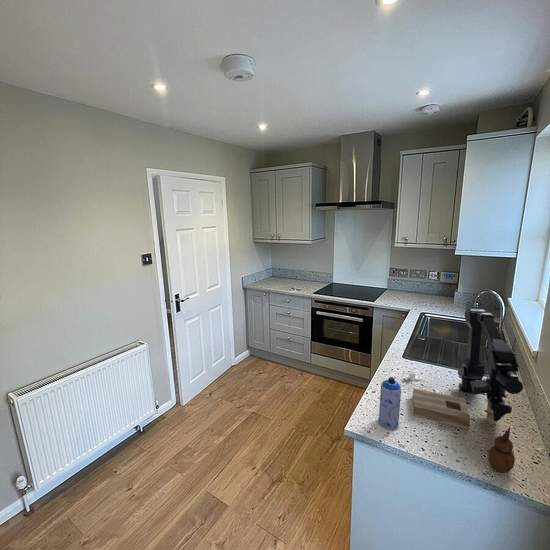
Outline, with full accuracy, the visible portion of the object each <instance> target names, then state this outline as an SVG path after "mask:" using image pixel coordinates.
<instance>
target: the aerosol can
mask: <svg viewBox="0 0 550 550" xmlns="http://www.w3.org/2000/svg"><path fill="white" fill-rule="evenodd" d="M379 394H380V396H379V408H378V409H379V411H378V419H377V424H378V425H379V426H380V427H381V428H382V427H383V429H384V428H385V429H384V430H387V431H396V430H398V429H399V426H400V423H399V422H400V410H401V397H402V387H401V384H399V382H398V381H396V380H395V378H394V377H393V376H390V377H388V379H385V380H384V381H382V382H381V385H380V393H379Z"/></svg>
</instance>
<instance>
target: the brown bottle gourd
mask: <svg viewBox="0 0 550 550" xmlns="http://www.w3.org/2000/svg"><path fill="white" fill-rule="evenodd" d="M510 433H511V427H508V429H505V432H504V433H503V434H502V435H498V436H496V437H495V438H494V441H493V444H494V445H492V446H490V447H489V450H488V454H487V455H488V456H487V457H488V462H489V464H490V467H491V468H492V469H494V470H495V472H499V473H501V474H507V473H509V472H511V471H512V470H513V468H514V466H515V459H516V457H515V454H514V452H513V449H514V445H513V441H512V440H511V439H510Z"/></svg>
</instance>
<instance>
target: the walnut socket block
mask: <svg viewBox="0 0 550 550" xmlns="http://www.w3.org/2000/svg"><path fill="white" fill-rule="evenodd" d="M412 416H413V417H417V418H421V419H424V420H429V421H433V422H437V423H442V424H445V425H450V426H454V427H456V428H457V427H458V428H461V429H466V430H470V427H471V426H470V425H471V416H470V413H469V409H468V405H467V402H466V399H465V398H463V397H457V396H452V395H447V394H443V393H438V392H433V391H429V390H423V389H420V388H414V387H413V390H412Z"/></svg>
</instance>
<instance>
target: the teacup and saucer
mask: <svg viewBox="0 0 550 550" xmlns="http://www.w3.org/2000/svg"><path fill="white" fill-rule="evenodd" d="M406 375H409V376H408V379H409V384H413V385H417V384H420V383H421V381H422V380H423V376H421V375H416V372H414V371H408V373H406ZM406 375H405V376H406ZM411 380H412V381H416V382H412V381H411ZM411 382H412V383H411Z"/></svg>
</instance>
